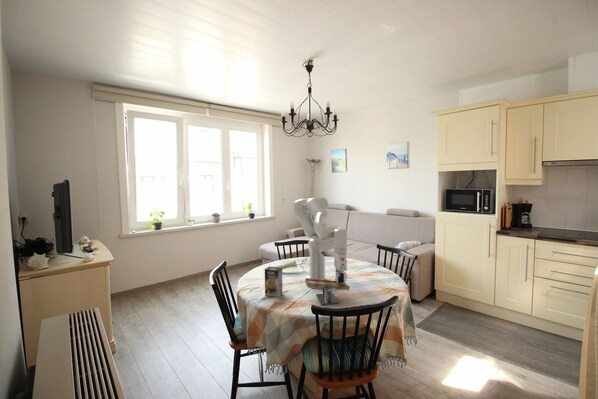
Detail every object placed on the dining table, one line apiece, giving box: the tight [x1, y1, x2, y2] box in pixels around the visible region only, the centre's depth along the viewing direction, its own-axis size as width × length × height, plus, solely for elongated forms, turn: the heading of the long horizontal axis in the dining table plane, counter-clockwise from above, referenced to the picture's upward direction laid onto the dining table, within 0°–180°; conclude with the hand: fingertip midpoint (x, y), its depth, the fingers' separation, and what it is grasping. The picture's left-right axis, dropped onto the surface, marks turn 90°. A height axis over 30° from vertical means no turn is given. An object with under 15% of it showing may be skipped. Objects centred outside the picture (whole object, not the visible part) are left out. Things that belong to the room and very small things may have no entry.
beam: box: [304, 279, 350, 291], centre depth 163 cm, size 24×8×2 cm, turn 99°
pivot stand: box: [315, 278, 340, 306], centre depth 163 cm, size 10×13×10 cm
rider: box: [334, 271, 348, 284], centre depth 164 cm, size 5×4×6 cm
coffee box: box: [264, 266, 283, 298], centre depth 171 cm, size 9×6×16 cm
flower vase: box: [271, 257, 310, 273], centre depth 212 cm, size 12×12×35 cm
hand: (339, 280), depth 165 cm, fingers closed on rider, 4 cm apart
